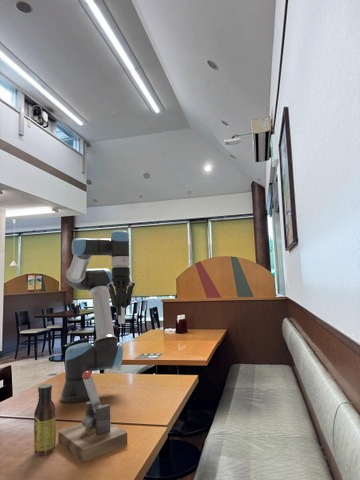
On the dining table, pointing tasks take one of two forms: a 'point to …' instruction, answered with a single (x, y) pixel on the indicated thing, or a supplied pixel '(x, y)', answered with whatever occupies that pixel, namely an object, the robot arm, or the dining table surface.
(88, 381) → the lever
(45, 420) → the sauce bottle
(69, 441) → the base
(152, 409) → the dining table surface
